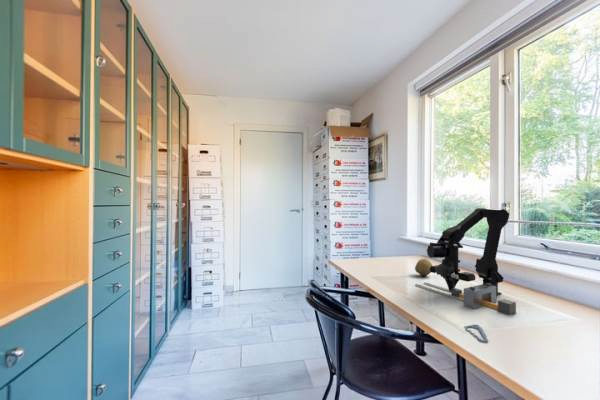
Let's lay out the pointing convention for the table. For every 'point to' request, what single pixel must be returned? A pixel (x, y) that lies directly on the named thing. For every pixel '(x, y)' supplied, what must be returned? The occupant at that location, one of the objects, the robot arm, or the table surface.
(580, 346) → the table surface
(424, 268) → the natural sponge
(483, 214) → the robot arm
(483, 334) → the grey curved loop
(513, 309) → the grey-capped orange bar
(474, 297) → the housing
